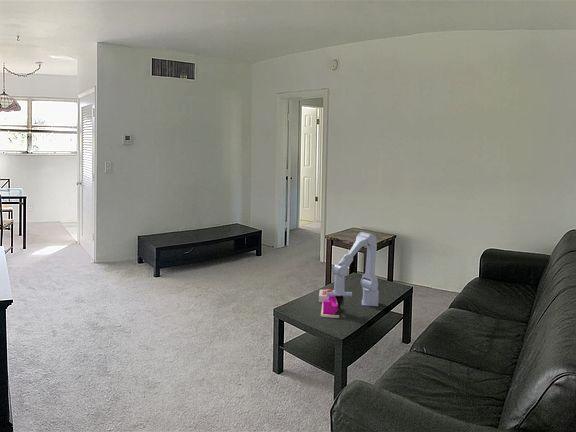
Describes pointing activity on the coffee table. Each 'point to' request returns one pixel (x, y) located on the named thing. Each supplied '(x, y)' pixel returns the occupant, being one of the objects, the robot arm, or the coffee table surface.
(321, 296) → the dome housing
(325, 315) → the frame
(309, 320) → the coffee table surface
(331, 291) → the dome
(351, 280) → the coffee table surface
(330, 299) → the toy block
